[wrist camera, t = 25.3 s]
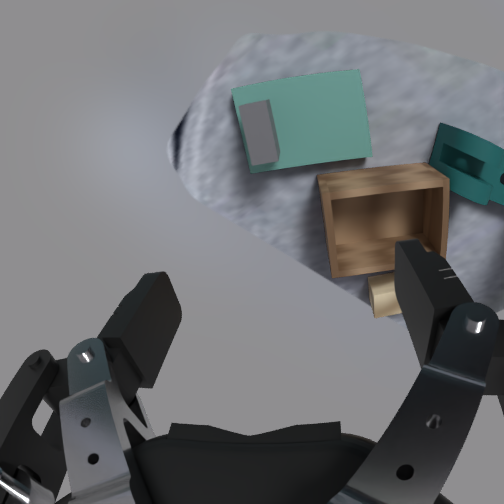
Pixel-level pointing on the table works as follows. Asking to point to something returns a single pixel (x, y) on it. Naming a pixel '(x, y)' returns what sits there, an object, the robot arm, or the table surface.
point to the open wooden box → (382, 215)
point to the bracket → (469, 164)
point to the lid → (303, 120)
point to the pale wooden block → (383, 295)
